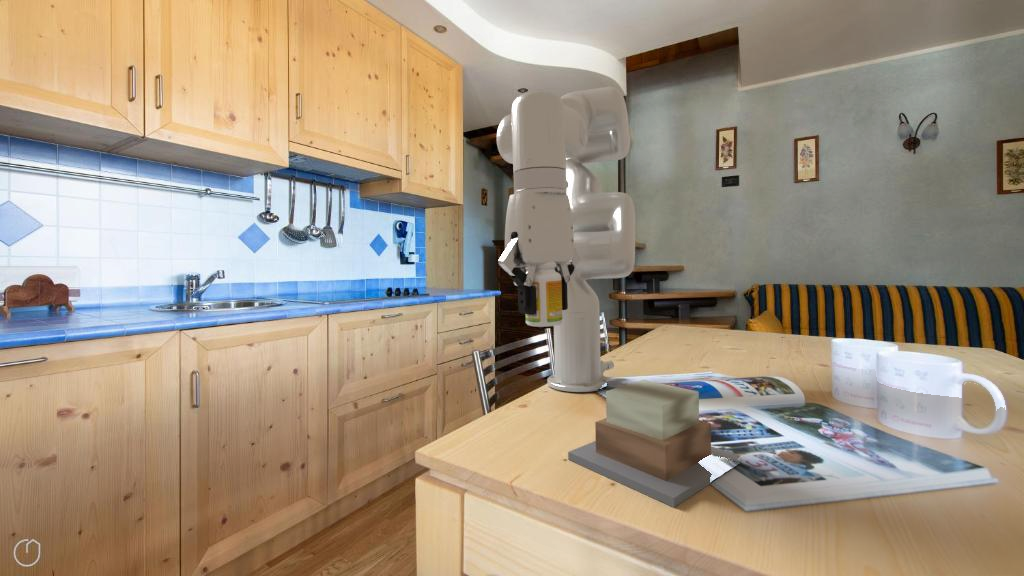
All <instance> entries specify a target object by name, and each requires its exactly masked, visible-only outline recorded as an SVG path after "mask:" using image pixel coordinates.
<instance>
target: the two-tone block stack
mask: <svg viewBox="0 0 1024 576" xmlns="http://www.w3.org/2000/svg"><path fill="white" fill-rule="evenodd" d="M699 396H700V392H699V391H697V390H694V389H689V388H684V387H681V386H680V387H678V386H674V385H670V384H665V383H660V382H656V381H650V380H646V379H642V380H638V381H635V382H632V383H631V382H630V383H629V384H625V385H621V386H618V387H615V388H613V389H609V390H606V391H605V397H606V398H605V399H606V401H605V403H606V407H605V408H606V414H605V415H606V418H603V419H599V420H598V421H595V423H594V425H595V428H594V429H595V441H596V453H598V454H601V455H603V456H605V457H608V458H610V459H613V460H615V461H618V462H620V463H623V464H625V465H627V466H630V467H632V468H635V469H637V470H640V471H642V472H645V473H647V474H649V475H652V476H654V477H657V478H659V479H662V480H664V481H667V480H669V479H670V478H672V477H674V476H676V475H677V474H679V473H681V472H682V471H684V470H686V469H688V468H689V467H691V466H693V465H695V464H696V463H698V462H699V461H700V460H702V459H703V458H705V457H707V456H709V455H711V446H712V425H711V424H712V423H710V422H707V421H703V420H701V419H700V397H699Z"/></svg>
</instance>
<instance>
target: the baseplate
mask: <svg viewBox="0 0 1024 576" xmlns="http://www.w3.org/2000/svg"><path fill="white" fill-rule="evenodd" d="M712 453H713V455H715V456H718V457H719V455H720V458H721V457H725V458H727V459H728V458H729V459H730V458H731V460H732V459H733V460H734V459H737V458H739V457H740V456H741V455H740V454H737V453H734V452H730V451H726V450H724V449H722V448H718V447H714V446H712V445H711V454H712ZM567 459H568V460H569V461H570V462H573V463H575V464H577V465H580V466H582V467H583V468H586V469H588V470H590V471H592V472H595V473H598V474H599V475H601V476H604V477H605V478H608V479H610V480H613V481H615V482H617V483H619V484H621V485H622V486H625V487H627V488H629V489H632V490H634V491H637V492H639V493H640V494H644V495H645V496H646V497H647V496H648V497H649V498H651V499H654V500H656V501H658V502H662V503H663V504H666V505H668V506H670V507H671V508H675V507H677V506H679V505H680V504H682V503H683V502H685V501H686V500H687V499H689V498H691V497H693V496H694V495H696V494H697V493H698V492H700V491H701V490H703V489H704V488H706V487H708V486H709V485H710V484H712V483H710V477H711V475H712V474H711V473H710V472H709V471H707V470H706V469H705V468H704V467H702V466H701V465H700V464H699V463H696V464H695V465H693V466H691V467H689V468H688V469H686V470H684V471H682V472H681V473H679V474H677V475H676V476H674V477H672V478H670V479H669V480H667V481H664V480H662V479H659V478H657V477H654V476H652V475H649V474H647V473H645V472H642V471H640V470H637V469H635V468H632V467H630V466H627V465H625V464H623V463H620V462H618V461H615V460H613V459H610V458H608V457H605V456H603V455H601V454H598V453H596V440H594V441H592V442H589V443H587V444H585V445H582V446H579V447H578V448H575V449H573V450H570V451H568V452H567ZM729 459H728V461H729ZM731 460H730V461H731Z"/></svg>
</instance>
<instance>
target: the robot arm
mask: <svg viewBox="0 0 1024 576" xmlns="http://www.w3.org/2000/svg"><path fill="white" fill-rule="evenodd" d="M511 105H512V106H511V111H510V112H511V113H509V114H508V115H505V116H504V117H503V118H502V119H501V120H500V123H499V125H498V127H497V131H496V145H497V150H498V152H499V155H500V156H501V157H502V159H503V160H504V161H505V162H506V163H508V164H512V166H513V167H512V169H513V171H512V172H513V173H512V174H513V194H510V195H509V198H508V202H507V207H506V214H505V226H504V229H505V230H504V251H503V252H502V254H501V256H500V257H499V259H498V261H497V262H498V265H499V266H500V268H502V269H503V270H504V271H505V272H506V273H507V275H508V277H510V279H511V280H512V281H513V284H514V286H516V287H517V303H518V313H519V314H523V315H526V314H529V315H534V314H536V312H537V306H536V287H535V286H532V282H533V278H534V273H535V269H536V265H543V264H545V263H548V262H555V263H556V267H555V271H556V272H558V273H559V274H560V275H561V281H562V323H561V324H560V325H556V326H553V345H554V346H553V347H554V349H553V351H554V353H553V355H554V356H553V357H554V358H553V359H554V374H551V375H550V376H549V377H547V380H546V381H547V385H548V387H550V388H551V389H554V390H556V391H561V392H567V393H568V392H569V393H590V392H591V393H592V392H598V391H599V390H598V389H600V388H601V387H602V385H604V384H605V383H607V382H608V383H609V378H608V377H606V376H605V375H604V373H605V372H606V371H609V370H612V369H614V367H615V363H614V361H612V360H610V359H609V360H606V361H603V360H601V321H600V320H601V315H600V313H601V312H600V300H599V296H598V295H597V293H596V292H595V291H594V290H593V288H592V286H590V284H588V282H587V280H593V279H594V280H597V279H599V280H600V279H620V278H626V277H628V276H630V275H631V274H632V272H633V270H634V267H635V262H636V261H635V260H636V211H635V210H636V209H635V205H634V202H633V200H632V197H631V196H630V195H629V194H628V193H625V192H621V191H620V192H619V191H613V192H612V191H611V192H602V182H601V181H600V179H599V178H598V176H597V175H596V174H595V173H594V172H592V170H590V169H589V168H588V167H586V166H584V165H585V164H593V163H594V164H595V163H605V162H606V163H607V162H614V161H619V160H620V161H621V160H624V158H626V156H628V154H629V151H630V147H631V133H630V125H629V116H628V110H627V109H628V108H627V104H626V101H625V98H624V94H622V92H621V91H620V90H619V89H618V88H617V87H614V86H605V87H604V86H603V87H598V88H591V89H586V90H579V91H573V92H568V93H566V94H564V95H562V96H561V97H560V95H559V94H557V93H555V92H550V91H544V90H543V91H541V90H537V91H530V92H526V93H523V94H521V95H519V96H517V97H516V98H515V99H514V100H513V102H512V104H511Z"/></svg>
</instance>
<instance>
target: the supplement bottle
mask: <svg viewBox="0 0 1024 576" xmlns="http://www.w3.org/2000/svg"><path fill="white" fill-rule="evenodd" d="M555 267H556V263H555V262H548V263H545V264H543V265H536V269H535V273H534V278H533V282H532V286H535V287H536V306H537V312H536V314H534V315H529V314H525V324H526V325H527V326H528V327H529V326H530V327H536V328H537V327H538V328H544V327H554V326H556V325H560V324H561V323H562V281H561V275H560V274H559V273H558V272H556V271H555Z"/></svg>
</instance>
